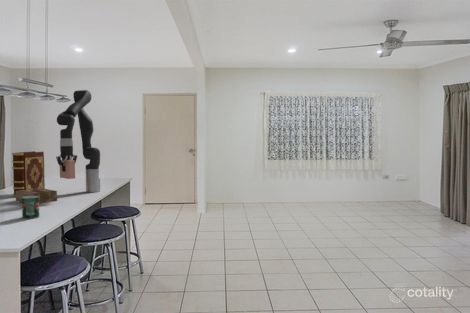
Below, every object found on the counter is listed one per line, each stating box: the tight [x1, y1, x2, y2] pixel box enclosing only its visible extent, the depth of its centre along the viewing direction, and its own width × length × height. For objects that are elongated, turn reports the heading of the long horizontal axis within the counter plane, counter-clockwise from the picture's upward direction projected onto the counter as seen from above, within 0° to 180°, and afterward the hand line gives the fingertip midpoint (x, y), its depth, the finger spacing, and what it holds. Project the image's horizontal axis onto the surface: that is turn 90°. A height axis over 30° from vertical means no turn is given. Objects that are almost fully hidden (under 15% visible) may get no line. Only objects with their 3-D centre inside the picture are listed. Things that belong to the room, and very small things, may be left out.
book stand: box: [15, 188, 58, 204], centre depth 231 cm, size 16×20×6 cm
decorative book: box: [11, 150, 46, 198], centre depth 253 cm, size 22×8×30 cm, turn 168°
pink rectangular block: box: [59, 158, 76, 180], centre depth 235 cm, size 4×11×12 cm, turn 56°
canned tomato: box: [21, 196, 40, 220], centre depth 188 cm, size 8×8×11 cm
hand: (67, 171), depth 235 cm, fingers closed on pink rectangular block, 4 cm apart
